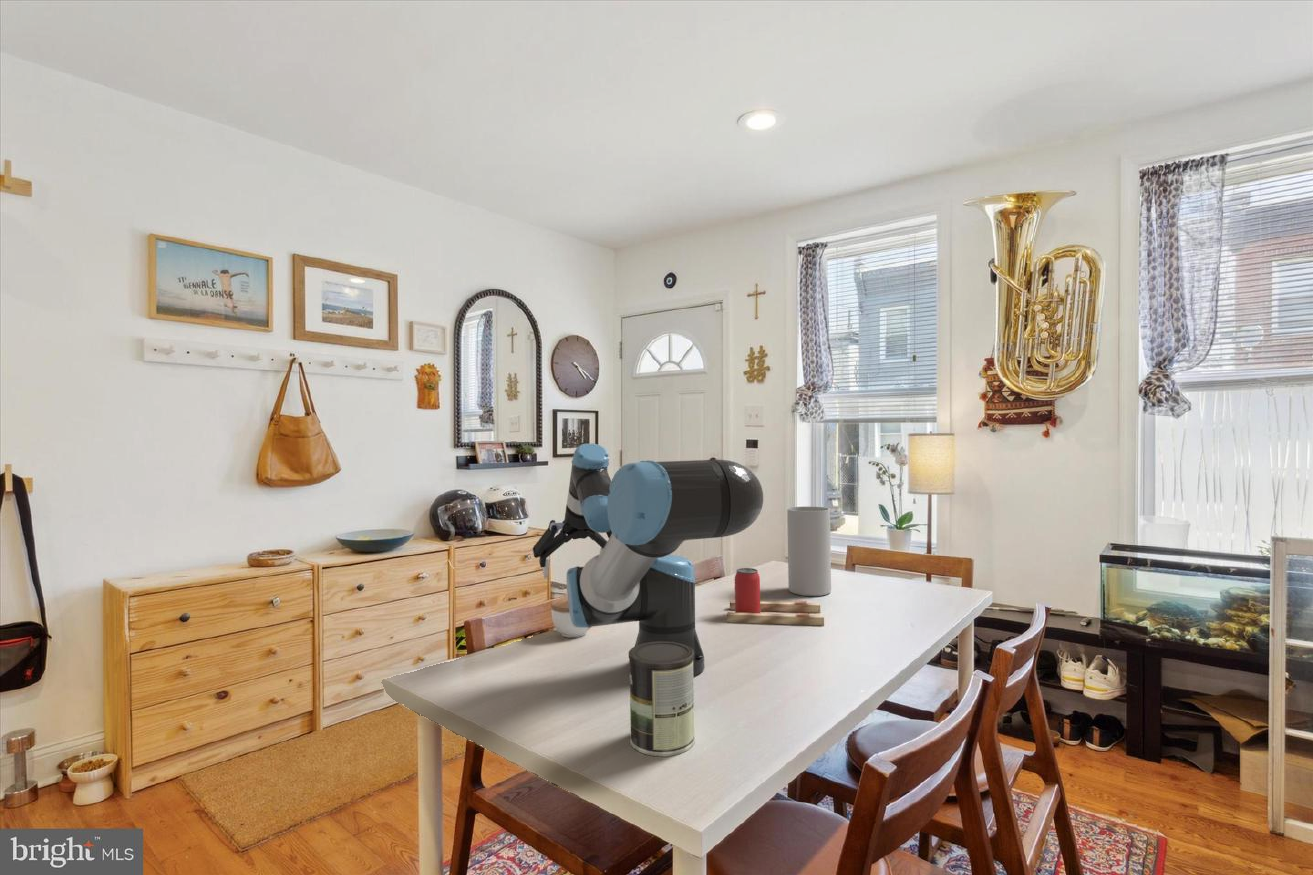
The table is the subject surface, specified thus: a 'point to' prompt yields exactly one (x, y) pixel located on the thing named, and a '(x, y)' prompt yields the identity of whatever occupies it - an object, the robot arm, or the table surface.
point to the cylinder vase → (809, 551)
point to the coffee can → (661, 698)
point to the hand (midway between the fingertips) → (572, 571)
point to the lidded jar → (565, 619)
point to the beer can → (747, 591)
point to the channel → (780, 618)
